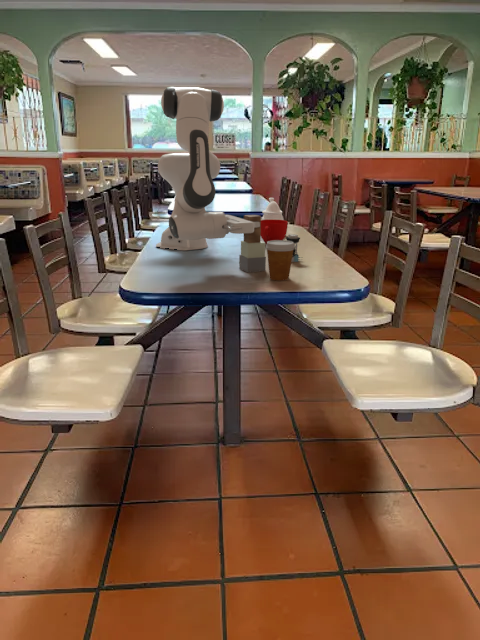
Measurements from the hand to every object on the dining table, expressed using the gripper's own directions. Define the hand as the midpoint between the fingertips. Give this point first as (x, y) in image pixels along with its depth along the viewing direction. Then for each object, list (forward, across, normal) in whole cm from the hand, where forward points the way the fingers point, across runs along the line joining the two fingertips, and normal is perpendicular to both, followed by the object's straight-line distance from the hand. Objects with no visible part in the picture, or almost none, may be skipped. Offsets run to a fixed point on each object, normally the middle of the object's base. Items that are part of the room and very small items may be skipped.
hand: (254, 222), depth 172 cm
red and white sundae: (+41, +64, +17) cm, 78 cm away
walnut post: (-1, 0, +6) cm, 7 cm away
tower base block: (-1, 0, +16) cm, 17 cm away
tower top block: (0, 0, +12) cm, 12 cm away
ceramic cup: (+29, +42, +17) cm, 53 cm away
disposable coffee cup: (+2, -15, +17) cm, 23 cm away
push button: (+20, +6, +17) cm, 27 cm away
